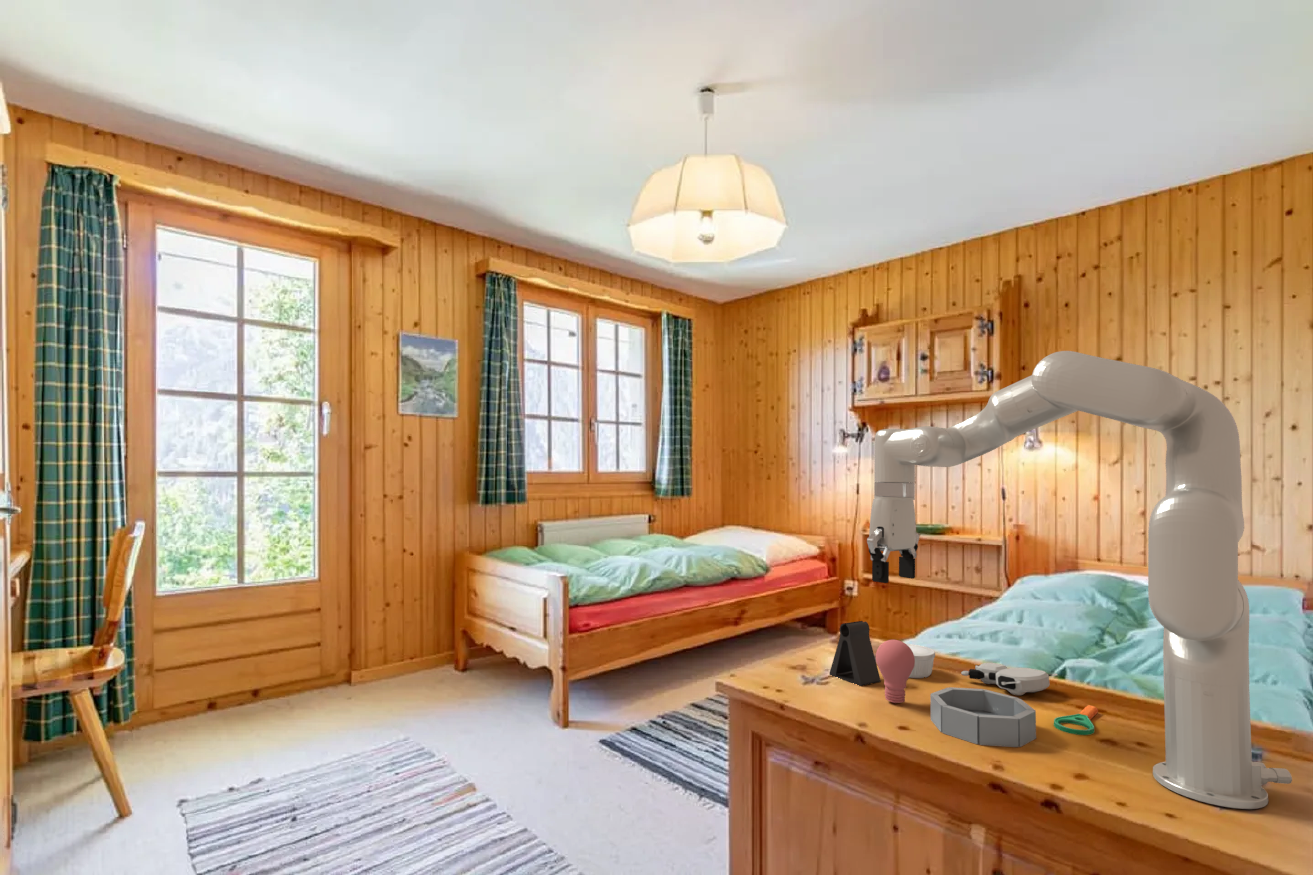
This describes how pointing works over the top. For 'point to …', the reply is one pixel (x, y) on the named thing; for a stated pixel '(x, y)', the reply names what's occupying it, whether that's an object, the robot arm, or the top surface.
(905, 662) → the light bulb
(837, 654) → the phone stand
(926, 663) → the ramekin
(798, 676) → the top surface
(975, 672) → the robot toy
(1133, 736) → the top surface
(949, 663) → the top surface
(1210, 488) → the robot arm
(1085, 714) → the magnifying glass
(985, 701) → the ceramic bowl
